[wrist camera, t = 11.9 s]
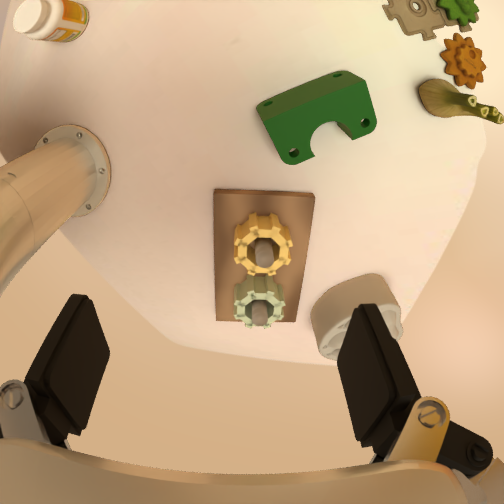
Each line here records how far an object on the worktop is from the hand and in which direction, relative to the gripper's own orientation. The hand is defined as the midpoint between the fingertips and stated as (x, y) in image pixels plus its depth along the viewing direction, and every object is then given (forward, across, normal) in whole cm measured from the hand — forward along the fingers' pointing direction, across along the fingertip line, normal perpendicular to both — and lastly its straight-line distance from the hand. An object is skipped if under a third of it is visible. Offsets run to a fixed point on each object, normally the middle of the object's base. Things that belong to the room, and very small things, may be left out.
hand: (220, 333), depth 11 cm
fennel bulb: (+28, -24, -10) cm, 39 cm away
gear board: (+28, -4, +15) cm, 32 cm away
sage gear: (+27, -4, +20) cm, 33 cm away
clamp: (+29, -8, -5) cm, 30 cm away
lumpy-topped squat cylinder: (+29, -18, +23) cm, 41 cm away
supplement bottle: (+28, +21, -18) cm, 40 cm away
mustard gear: (+27, -3, +11) cm, 29 cm away
